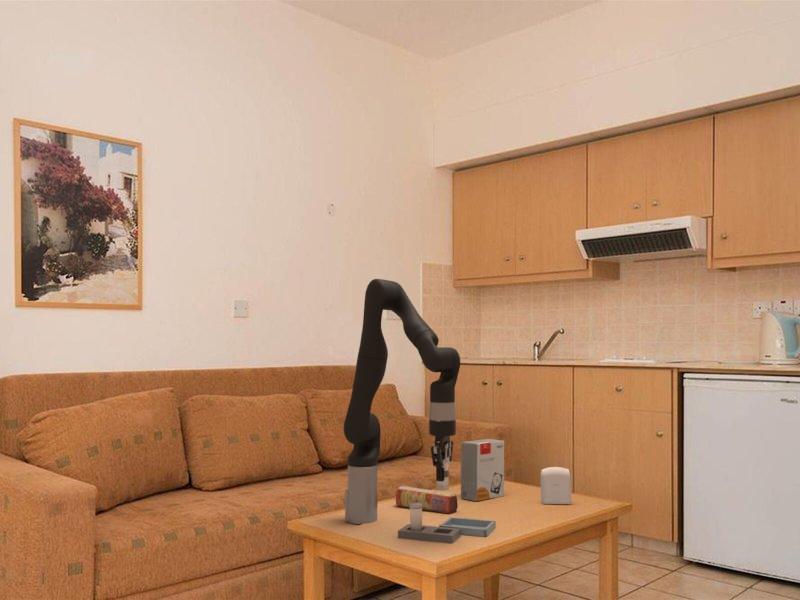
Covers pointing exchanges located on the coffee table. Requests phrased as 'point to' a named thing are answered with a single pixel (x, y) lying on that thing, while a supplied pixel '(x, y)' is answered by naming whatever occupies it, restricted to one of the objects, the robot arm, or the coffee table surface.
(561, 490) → the photo printer
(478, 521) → the parts tray
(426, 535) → the fuse block
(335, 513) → the coffee table surface
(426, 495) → the snack package
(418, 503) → the fuse
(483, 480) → the hard drive box
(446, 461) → the cylinder
